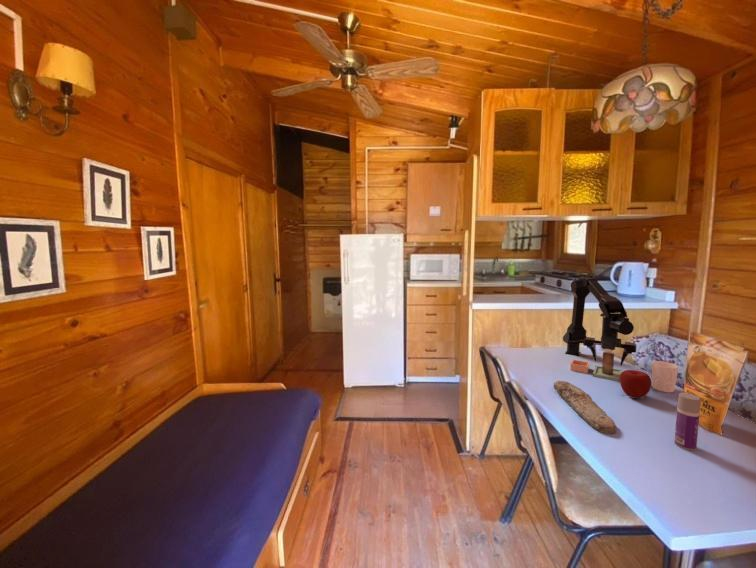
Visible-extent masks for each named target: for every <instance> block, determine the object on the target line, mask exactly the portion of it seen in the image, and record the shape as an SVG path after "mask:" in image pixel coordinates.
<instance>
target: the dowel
mask: <svg viewBox="0 0 756 568" xmlns="http://www.w3.org/2000/svg"><path fill="white" fill-rule="evenodd" d="M614 365H615V353H614V352H610V351H603V352H602V365H601V367H602V373H603V374H606V375H613V369H614Z"/></svg>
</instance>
